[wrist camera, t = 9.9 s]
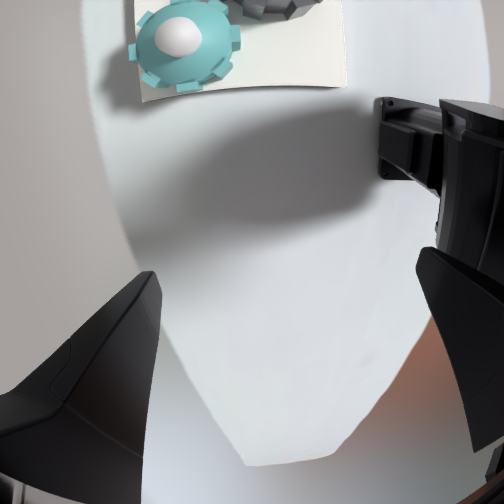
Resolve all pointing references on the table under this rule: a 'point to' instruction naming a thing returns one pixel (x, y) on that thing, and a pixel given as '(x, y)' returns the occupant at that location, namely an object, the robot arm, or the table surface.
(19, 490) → the robot arm
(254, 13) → the gear
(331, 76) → the gear board
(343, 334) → the table surface
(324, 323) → the table surface
